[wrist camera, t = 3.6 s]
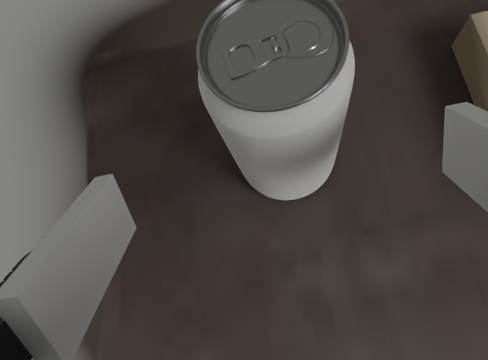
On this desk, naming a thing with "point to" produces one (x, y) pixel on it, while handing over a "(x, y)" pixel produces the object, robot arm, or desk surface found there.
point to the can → (278, 89)
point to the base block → (474, 57)
